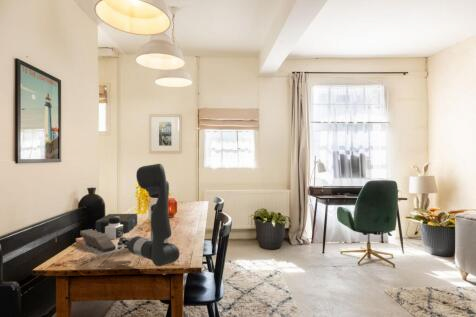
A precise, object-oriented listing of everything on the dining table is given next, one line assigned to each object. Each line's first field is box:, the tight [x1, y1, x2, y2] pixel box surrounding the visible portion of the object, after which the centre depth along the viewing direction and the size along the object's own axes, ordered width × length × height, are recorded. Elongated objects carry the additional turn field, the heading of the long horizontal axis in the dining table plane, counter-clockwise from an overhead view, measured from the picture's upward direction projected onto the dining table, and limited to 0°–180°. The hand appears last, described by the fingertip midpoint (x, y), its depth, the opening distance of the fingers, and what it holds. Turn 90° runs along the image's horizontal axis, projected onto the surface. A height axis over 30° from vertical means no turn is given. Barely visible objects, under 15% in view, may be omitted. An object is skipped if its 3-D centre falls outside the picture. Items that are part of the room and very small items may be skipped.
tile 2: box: [88, 232, 103, 250], centre depth 151 cm, size 2×6×12 cm
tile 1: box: [93, 233, 117, 252], centre depth 148 cm, size 2×6×12 cm
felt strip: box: [80, 244, 123, 256], centre depth 150 cm, size 24×10×1 cm, turn 50°
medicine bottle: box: [104, 217, 124, 240], centre depth 171 cm, size 7×7×12 cm
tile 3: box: [84, 230, 98, 248], centre depth 154 cm, size 2×6×12 cm
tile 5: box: [75, 236, 87, 245], centre depth 161 cm, size 2×6×12 cm
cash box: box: [95, 213, 138, 234], centre depth 194 cm, size 25×20×8 cm
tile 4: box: [79, 228, 94, 246], centre depth 157 cm, size 2×6×12 cm
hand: (121, 239), depth 137 cm, fingers closed
